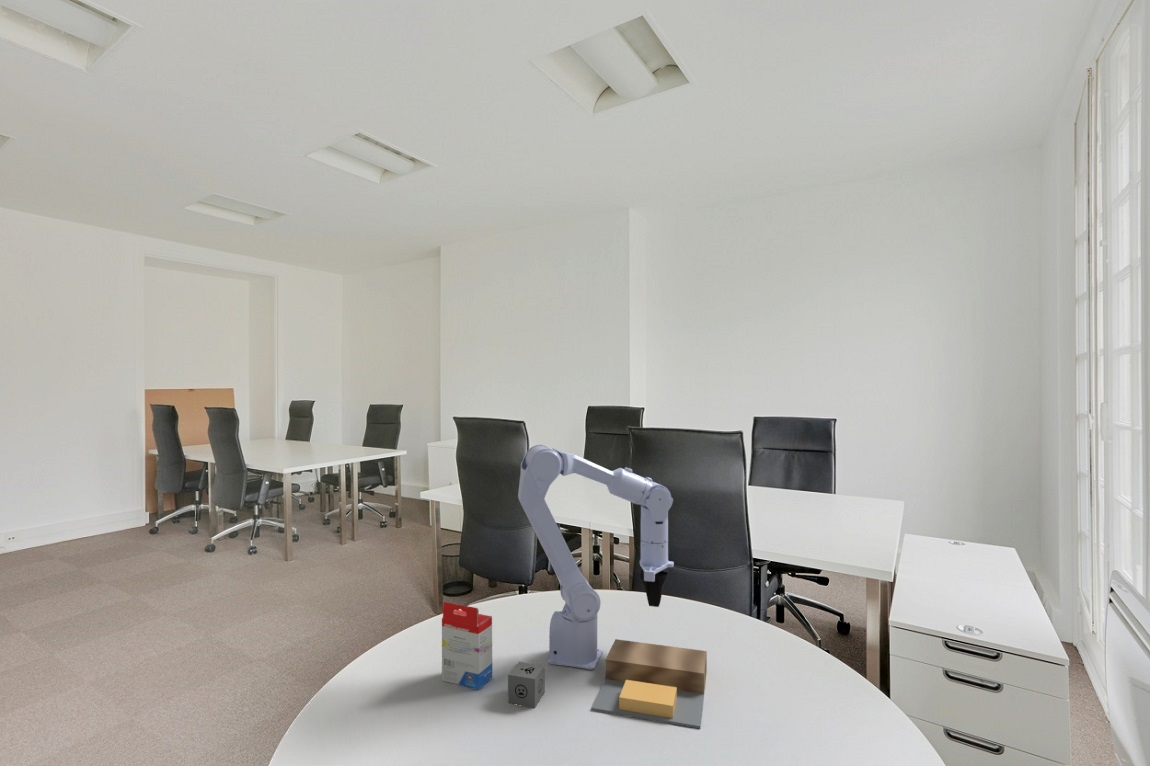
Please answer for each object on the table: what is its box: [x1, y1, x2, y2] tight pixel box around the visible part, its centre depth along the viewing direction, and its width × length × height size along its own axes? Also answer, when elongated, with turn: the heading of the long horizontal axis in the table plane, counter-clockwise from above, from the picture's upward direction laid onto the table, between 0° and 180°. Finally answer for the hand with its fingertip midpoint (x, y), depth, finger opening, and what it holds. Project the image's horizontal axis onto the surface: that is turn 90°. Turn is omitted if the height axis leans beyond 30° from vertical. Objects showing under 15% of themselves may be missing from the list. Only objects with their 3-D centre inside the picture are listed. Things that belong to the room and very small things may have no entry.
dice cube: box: [507, 661, 546, 709], centre depth 97 cm, size 5×5×5 cm
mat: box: [591, 678, 705, 729], centre depth 96 cm, size 18×11×1 cm, turn 74°
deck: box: [604, 638, 708, 695], centre depth 105 cm, size 18×9×4 cm, turn 74°
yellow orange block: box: [619, 680, 677, 718], centre depth 95 cm, size 9×6×2 cm, turn 74°
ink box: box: [441, 601, 493, 691], centre depth 103 cm, size 8×5×15 cm, turn 65°
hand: (654, 605), depth 115 cm, fingers closed
